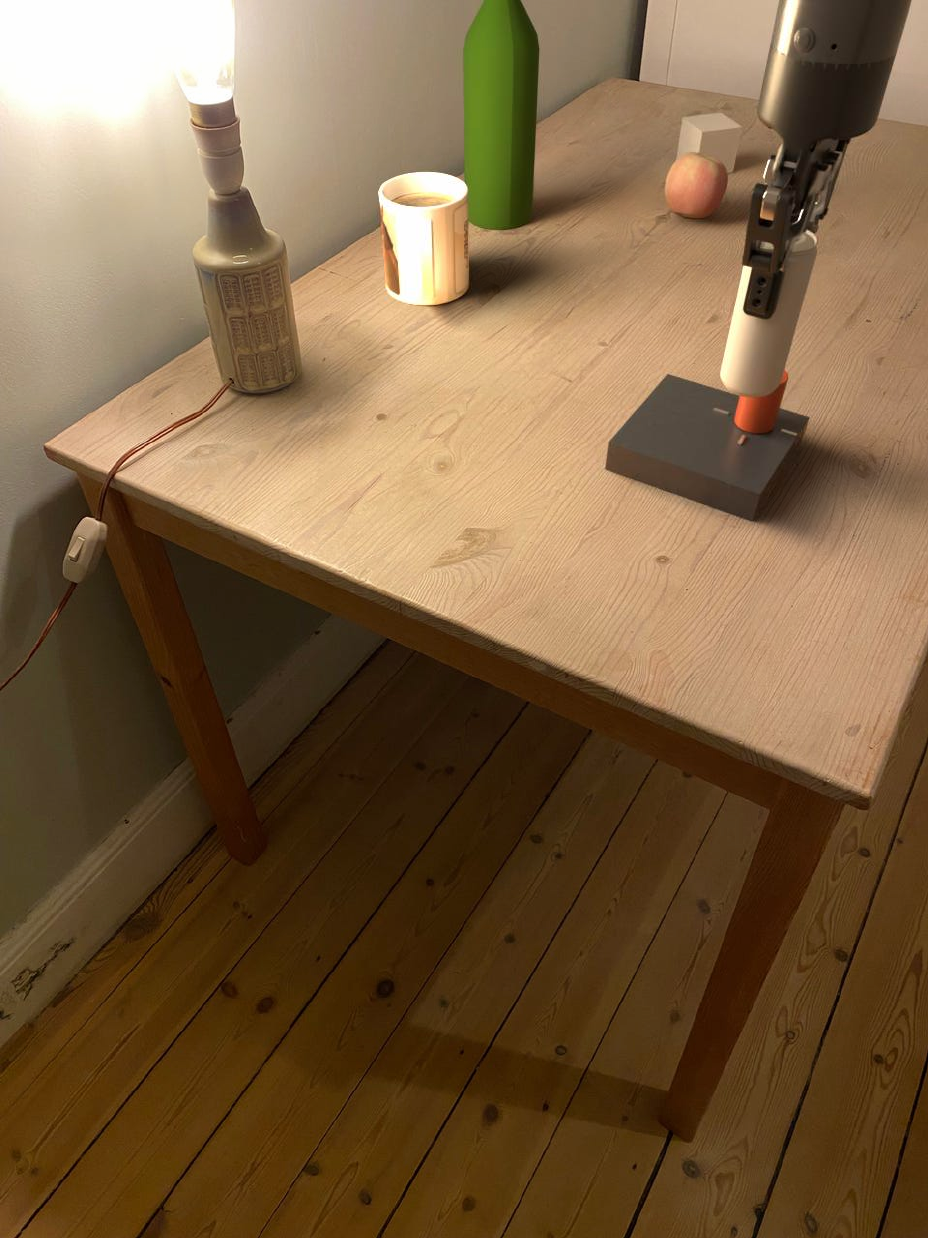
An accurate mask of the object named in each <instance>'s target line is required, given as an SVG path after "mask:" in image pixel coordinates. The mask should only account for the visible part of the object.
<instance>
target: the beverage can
mask: <svg viewBox="0 0 928 1238" xmlns="http://www.w3.org/2000/svg"><path fill="white" fill-rule="evenodd" d="M818 244H819V239H818V237H817V235H816V233H815V234H813V233H812V232H811V231H809V230H807V231H806V233H805V234H804V235H803V236H800V237H798V238H797V239H796V241H795V244H794V247H793V250H792V253H791V256H790V259H789V260H790V263H789V266H788V267H787V268H786V271H785V275H784V279H783V283H782V287H781V291H780V295H779V298H778V302H777V306H776V310H775V313H774V314H773V315H772V317H771V318H770V319H767V320H765V319H761V318H757V317H753V316H749V315H747V314H745V313H744V311H743V305H744V301H745V296H746V292H747V287H748V283H749V278H750V274H751V270H752V268H751V267H747V266H742V272H741V276H740V281H739V286H738V290H737V295H736V299H735V304H734V310H733V313H732V317H731V322H730V326H729V332H728V336H727V340H726V345H725V349H724V355H723V359H722V363H721V369H720V376H719V377H720V379H721V382H722V383H723V386H724V387H725V388H726V389H727V390H728V391H729V392H730V393H732V394H735V395H739V396H744V397H752V398H755V397H763V396H766V395H769V394H771V393H772V392H773V391H774V390H775V389H776V388H777V387H778V386H779V385H780V383H781V380H782V376H783V373H784V370H786V369H785V368H786V365H787V361H788V358H789V354H790V352H791V351H790V350H791V347H792V343H793V340H794V336H795V332H796V328H797V326H798V322H799V318H800V315H801V311H802V308H803V304H804V301H805V299H806V298H805V297H806V293H807V291H808V288H809V287H808V286H809V284H810V280H811V276H812V272H813V269H814V266H815V262H816V258H817V255H818V247H817V245H818ZM764 248H765V249H769V250H773V248H774V247H773V245H772V244H771V243H767V242H766V243H765V246H764Z"/></svg>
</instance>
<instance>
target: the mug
mask: <svg viewBox="0 0 928 1238" xmlns="http://www.w3.org/2000/svg"><path fill="white" fill-rule="evenodd" d="M378 204H379V215H380V217H379V218H380V229H381V241H382V255H383V267H384V280H385V289H386V291H387V293H388V294H389V295H390V296H391V297H392V298H394V299H396V300H397V301H399V302H401V303H404V304H409V305H415V306H435V305H443V304H446V303H450V302H452V301H454V300H457V299H459V298H460V297H462V296H463V295H464V294H466V292H467V291H468V289H469V287H470V245H469V244H470V242H469V241H470V237H469V236H470V235H469V234H470V233H469V231H470V230H469V229H470V228H469V227H470V226H469V223H470V222H469V214H468V187H467V185H466V184H465V183H464V180H462V179H460V178H458V177H456V176H453V175H451V174H447V173H441V172H431V171H419V172H411V173H410V172H409V173H405V174H400V175H397V176H395V177H392V178H390V179H388V180H386V181H385V182H383V183H382V184H381V186H380V188H379V189H378Z"/></svg>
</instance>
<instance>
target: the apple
mask: <svg viewBox="0 0 928 1238" xmlns="http://www.w3.org/2000/svg"><path fill="white" fill-rule="evenodd" d="M728 177H729V175H728V173H727V170H726V167H725V166H724V164H723V163H722V162H721V161H720V160H718V159H716V158H714V157H712V156H710V155H708V154H704V153H697V152H689V153H686V154H684V155H682V156H680V157H679V158H678V159H677V160H676V159H675V161H674V162H673V164H672V165H671V167H670V169H669V171H668V173H667V176H666V179H665V182H664V183H665V184H664V197H665V199H664V200H665V203H666V205H667V207H668V209H669V210H670V212H672V213H673V214H675V215H677V216H681V217H685V218H690V219H704V218H707V217H708V216H710V215H711V214H713V213H714V212H715V211H716V210H717V208H718V207H719V206H720V204H721V202H722V200H723V199H724V198H725V197H724V196H725V194H726V192H727V187H728V182H729V178H728Z"/></svg>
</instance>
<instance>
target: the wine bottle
mask: <svg viewBox="0 0 928 1238" xmlns="http://www.w3.org/2000/svg"><path fill="white" fill-rule="evenodd" d="M539 42H540V41H539V35H538V33H537V30H536V28H535V26H534V24H533V22H532V20H531V19H530V16H529V14H528V12H527V10H526V8H525V6H524V4H523V2H522V0H482V3H481V4H480V7H479V8H478V10H477V12H476V14H475V16H474V18H473V20H472V22H471V24H470V26H469V28H468V30H467V31H466V34H465V38H464V43H463V49H462V70H463V71H462V74H463V75H462V76H463V77H462V78H463V85H462V86H463V170H464V171H463V172H464V173H463V175H464V180H463V182H464V183H465V184H466V185H467V187H468V214H469V223H470V224H472V225H473V226H476V227H479V228H482V229H487V230H494V231H496V230H499V231H502V230H503V231H504V230H511V229H516V228H519V227H521V226H524V225H525V224H527V223H528V222H530V220H531V219H532V216H533V212H534V211H533V207H534V187H535V186H534V184H535V165H536V164H535V163H536V141H537V140H536V139H537V116H538V115H537V114H538V95H539V92H538V91H539V69H540V43H539Z"/></svg>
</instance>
